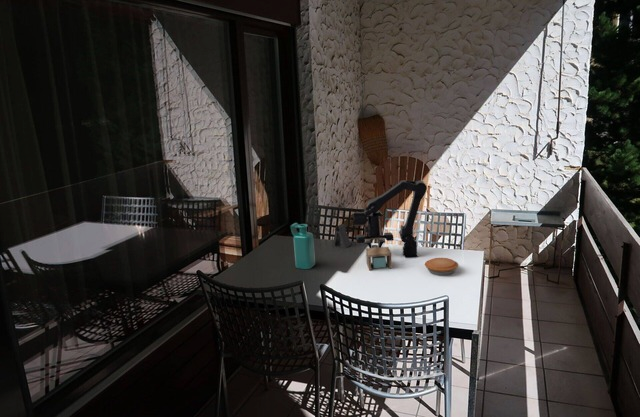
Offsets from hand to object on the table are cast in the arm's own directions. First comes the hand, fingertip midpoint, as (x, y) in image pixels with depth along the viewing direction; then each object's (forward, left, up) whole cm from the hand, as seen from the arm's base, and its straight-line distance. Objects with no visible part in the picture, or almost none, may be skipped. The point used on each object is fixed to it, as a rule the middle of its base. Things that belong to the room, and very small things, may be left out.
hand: (375, 253), depth 268 cm
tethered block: (0, +7, -2) cm, 7 cm away
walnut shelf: (0, +13, -2) cm, 14 cm away
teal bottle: (+37, +6, -2) cm, 37 cm away
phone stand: (+16, -23, -2) cm, 28 cm away
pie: (-28, +26, -2) cm, 38 cm away
